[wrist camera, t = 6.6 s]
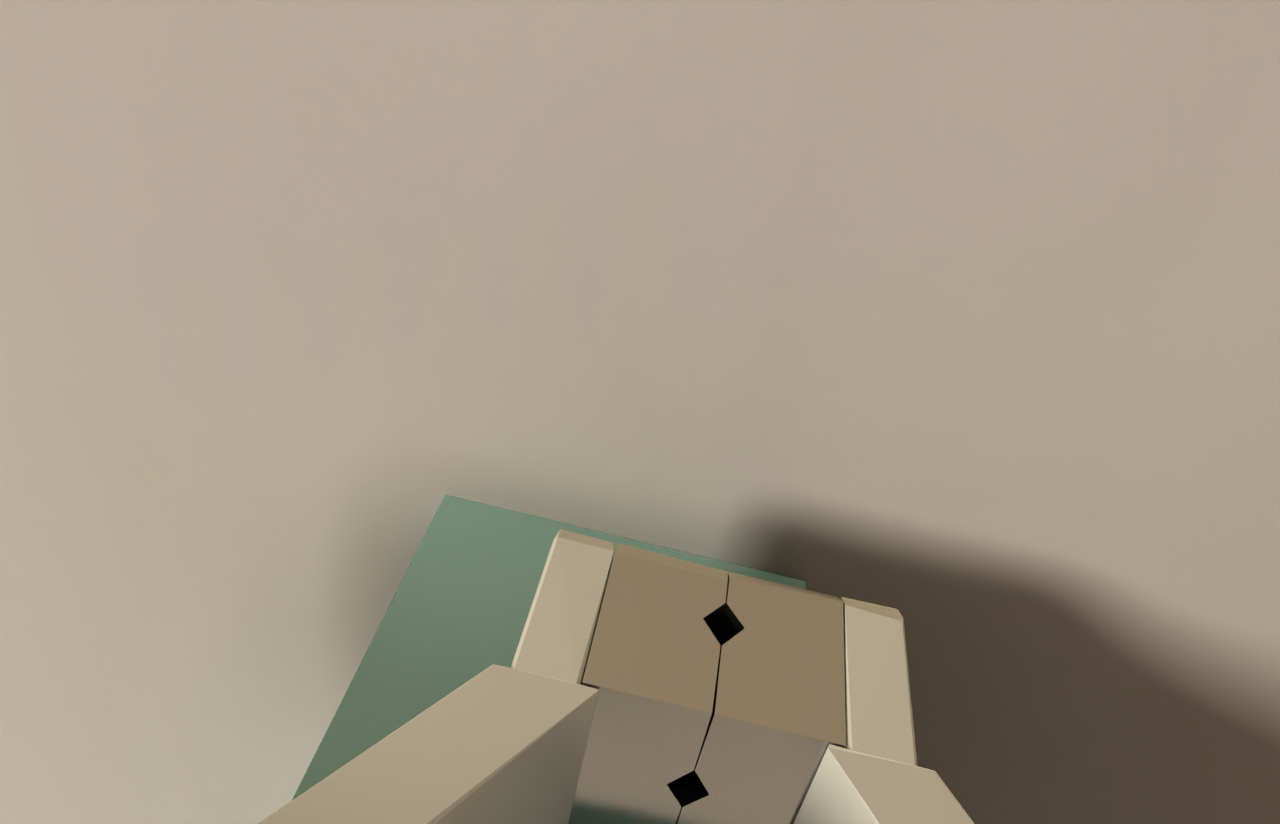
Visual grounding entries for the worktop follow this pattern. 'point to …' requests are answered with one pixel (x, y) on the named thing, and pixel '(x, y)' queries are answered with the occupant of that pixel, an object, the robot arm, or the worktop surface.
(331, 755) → the bar
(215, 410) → the worktop surface
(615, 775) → the robot arm
